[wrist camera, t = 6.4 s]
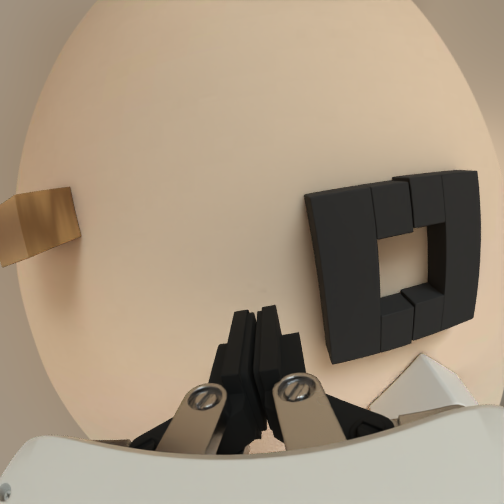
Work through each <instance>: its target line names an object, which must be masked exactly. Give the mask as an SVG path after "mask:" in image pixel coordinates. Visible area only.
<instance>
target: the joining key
mask: <svg viewBox="0 0 504 504" xmlns="http://www.w3.org/2000/svg"><path fill="white" fill-rule="evenodd" d="M78 237H81V233H80V229H79V226H78V222H77V217H76V213H75V209H74V204H73V200H72V195H71V190H70V187H64V188H56V189H49V190H42V191H35V192H29V193H23V194H17V195H14V196H12V197H11V198H9V199H8V200H6V201H5V202H4V203H2V204H1V205H0V262H1V265H2V267H6V266H8V265H11V264H14V263H16V262H19V261H22V260H25V259H28V258H30V257H32V256H35V255H37V254H39V253H42V252H44V251H46V250H49V249H51V248H54V247H56V246H58V245H61V244H63V243H66V242H68V241H71V240H73V239H76V238H78Z"/></svg>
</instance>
